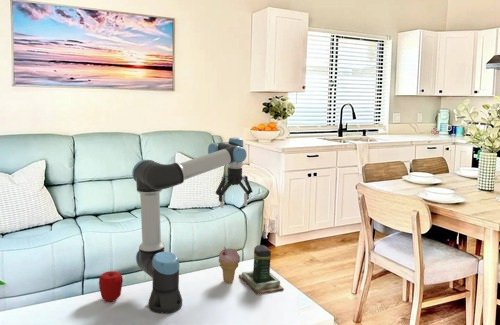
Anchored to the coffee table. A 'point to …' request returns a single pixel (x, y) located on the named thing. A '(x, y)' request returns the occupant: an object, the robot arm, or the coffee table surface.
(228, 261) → the ice cream cone
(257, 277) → the coffee jar
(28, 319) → the coffee table surface
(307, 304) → the coffee table surface
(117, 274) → the apple
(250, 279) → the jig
